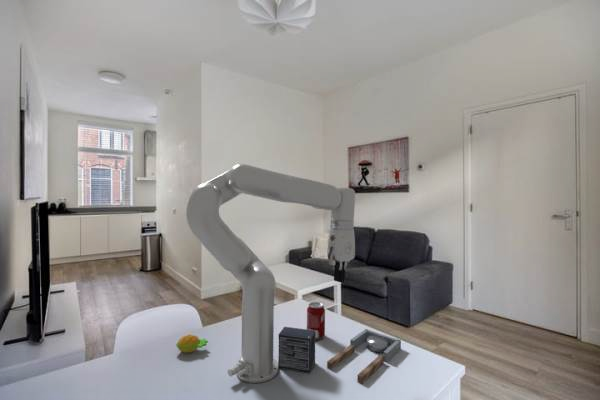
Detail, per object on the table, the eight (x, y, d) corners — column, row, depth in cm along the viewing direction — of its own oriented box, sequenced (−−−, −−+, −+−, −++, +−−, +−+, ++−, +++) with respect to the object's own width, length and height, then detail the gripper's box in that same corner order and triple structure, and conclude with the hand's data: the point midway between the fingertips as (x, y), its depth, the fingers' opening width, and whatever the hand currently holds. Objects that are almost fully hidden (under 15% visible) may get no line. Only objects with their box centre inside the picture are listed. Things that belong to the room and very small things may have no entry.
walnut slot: (362, 384, 84) (362, 377, 84) (327, 367, 92) (327, 361, 92) (383, 363, 95) (383, 356, 95) (350, 350, 102) (350, 344, 102)
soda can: (318, 342, 107) (318, 309, 107) (303, 337, 111) (303, 305, 111) (328, 335, 113) (328, 304, 113) (313, 330, 117) (313, 300, 117)
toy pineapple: (180, 346, 104) (180, 331, 104) (209, 345, 105) (209, 330, 105) (173, 357, 97) (173, 340, 97) (204, 356, 98) (205, 339, 98)
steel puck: (382, 356, 99) (382, 347, 99) (363, 349, 103) (363, 340, 103) (390, 348, 105) (390, 339, 104) (371, 341, 109) (372, 333, 109)
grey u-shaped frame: (387, 362, 95) (387, 353, 95) (350, 348, 104) (350, 339, 104) (400, 348, 104) (400, 340, 104) (365, 336, 112) (365, 328, 112)
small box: (315, 362, 95) (316, 329, 95) (311, 374, 89) (311, 339, 88) (284, 357, 98) (284, 325, 98) (277, 368, 91) (277, 334, 91)
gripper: (338, 227, 90) (335, 288, 90) (363, 225, 101) (360, 279, 101) (318, 225, 95) (315, 282, 95) (345, 223, 106) (342, 275, 106)
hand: (339, 281), depth 98 cm, fingers closed
